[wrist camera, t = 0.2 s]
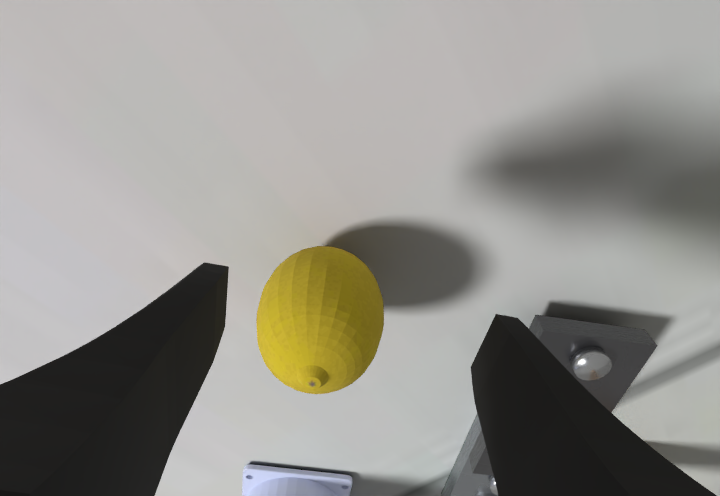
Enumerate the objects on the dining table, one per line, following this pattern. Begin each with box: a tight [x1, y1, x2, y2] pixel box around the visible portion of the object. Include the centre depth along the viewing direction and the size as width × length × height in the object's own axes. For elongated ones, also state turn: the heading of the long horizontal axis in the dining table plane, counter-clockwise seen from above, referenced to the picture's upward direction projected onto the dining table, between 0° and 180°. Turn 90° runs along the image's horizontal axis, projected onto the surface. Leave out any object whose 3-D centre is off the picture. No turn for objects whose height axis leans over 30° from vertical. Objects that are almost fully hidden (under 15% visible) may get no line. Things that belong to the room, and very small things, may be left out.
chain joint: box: [441, 315, 657, 496], centre depth 28 cm, size 19×6×3 cm, turn 171°
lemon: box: [257, 246, 384, 394], centre depth 20 cm, size 6×6×8 cm
